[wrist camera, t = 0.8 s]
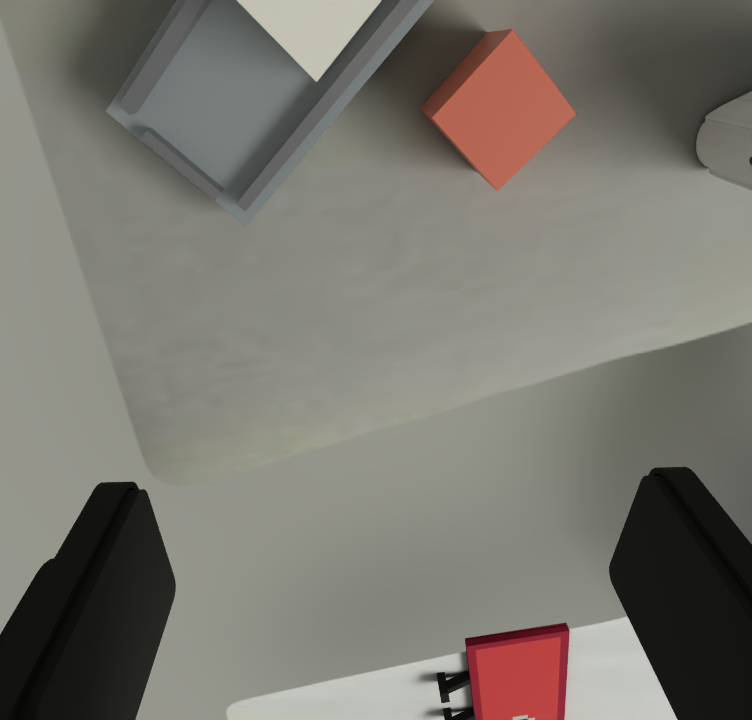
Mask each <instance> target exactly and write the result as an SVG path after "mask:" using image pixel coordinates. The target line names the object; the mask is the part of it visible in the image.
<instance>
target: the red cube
mask: <svg viewBox="0 0 752 720" xmlns="http://www.w3.org/2000/svg"><path fill="white" fill-rule="evenodd" d="M420 109H421V110H422V111H423V112H424V114H425V115H426V116H427V117H428V118H429V119H430V120H431V121H432V122H433V124H434V125H435V126H436V127H437V128H438V129H439V130H440V131H441V132H442V134H443V135H444V136H445V137H446V138H447V139H448V140H449V141H450V142H451V144H452V145H453V146H454V147H455V148H456V149H457V150H458V151H459V152H460V154H461V155H462V156H463V157H464V158H465V159H466V160H467V161H468V162H469V164H470V165H471V166H472V167H473V168H474V169H475V170H476V171H477V172H478V173H479V174H480V175H481V176H482V177H483V178H484V179H485V180H486V181H487V182H488V183H489V184H490V185H492V186H493V187H494V188H495V189H496V190H497V191H498V190H499V189H500V188H501V187H502V186H503V185H504V184H505V183H506V182H507V181H508V180H509V179H510V178H511V177H512V176H513V175H514V174H515V173H516V172H517V171H518V170H519V169H521V168H522V167H523V166H524V165H525V164H526V163H527V162H528V161H529V160H530V159H531V158H532V157H533V156H534V155H535V154H536V153H537V152H538V151H539V150H540V149H541V148H542V147H543V146H544V145H545V144H546V143H547V142H548V141H549V140H550V139H551V138H553V137H554V136H555V135H556V134H557V133H558V132H559V131H560V130H561V129H562V128H563V127H564V126H565V125H566V124H567V123H568V122H569V121H570V120H571V119H572V118H573V117H574V116H575V115H576V114H577V113H576V112H575V111H574V109H573V108H572V107H571V105H570V104H569V103H568V101H567V100H566V99H565V97H564V96H563V95H562V93H561V92H560V91H559V89H558V88H557V87H556V85H555V84H554V83H553V81H552V80H551V79H550V77H549V76H548V75H547V73H546V72H545V71H544V69H543V68H542V67H541V65H540V64H539V63H538V61H537V60H536V59H535V57H534V56H533V55H532V53H531V52H530V51H529V49H528V48H527V47H526V45H525V44H524V43H523V41H522V40H521V39H520V37H519V36H518V35H517V33H516V32H515V31H514V29H511V30H503V31H494V32H488V33H487V34H486V35H485V36H484V37H483V38H482V39H481V40H480V41H479V43H478V44H477V45H476V46H475V47H474V48H473V49H472V50H471V52H470V53H469V54H468V55H467V56H466V57H465V58H464V59H463V60H462V62H461V63H460V64H459V65H458V66H457V67H456V68H455V69H454V70H453V72H452V73H451V74H450V75H449V76H448V77H447V78H446V79H445V81H444V82H443V83H442V84H441V85H440V86H439V87H438V88H437V89H436V91H435V92H434V93H433V94H432V95H431V96H430V97H429V98H428V99H427V101H426V102H425V103H424V104H423V105H422V106H421V107H420Z"/></svg>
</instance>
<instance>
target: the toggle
mask: <svg viewBox="0 0 752 720" xmlns="http://www.w3.org/2000/svg"><path fill="white" fill-rule="evenodd" d="M237 1H238V2H239V3H240V4H241V5H242V6H243V7H244V8H245V9H246V10H247V11H248V12H249V14H250V15H251V16H252V17H253V18H254V19H255V20H256V21H257V22H258V23H259V24H260V25H261V26H262V27H263V28H264V29H265V30H266V31H267V32H268V33H269V34H270V35H271V36H272V37H273V38H274V39H275V40H276V41H277V42H278V43H279V44H280V45H281V46H282V47H283V48H284V49H285V50H286V51H287V52H288V53H289V54H290V55H291V56H292V58H293V59H294V60H295V61H296V62H297V63H298V64H299V65H300V66H301V67H302V68H303V69H304V70H305V71H306V72H307V73H308V74H309V75H310V76H311V77H312V78H313V79H314V80H315V81H316V82H317V81H318V80H319V79H320V78H321V76H322V75H323V74H324V73H325V71H326V70H327V69H328V68H329V66H330V65H331V64H332V63H333V61H334V60H335V59H336V58H337V56H338V55H339V54H340V52H341V51H342V50H343V49H344V47H345V46H346V45H347V44H348V42H349V41H350V40H351V39H352V37H353V36H354V35H355V34H356V32H357V31H358V30H359V29H360V27H361V26H362V25H363V24H364V22H365V21H366V20H367V18H368V17H369V16H370V15H371V13H372V12H373V11H374V10H375V8H376V7H377V6H378V5H379V3H380V2H381V1H382V0H237Z"/></svg>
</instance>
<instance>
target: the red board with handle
mask: <svg viewBox="0 0 752 720" xmlns="http://www.w3.org/2000/svg"><path fill="white" fill-rule="evenodd" d="M465 644H466V651H467V660H468V668H469V671H466V672H464V673H462V674H460V675H457V676H455V677H453V678H451V679H449V680H447V681H446V677H445V672H442V673H437V679H438V685H439V691H440V697H441V702H442V703H445V702H450V701H449V693H451V692H453V691H455V690H458V689H460V688H462V687H464V686H466V685H468V684H470V685H471V694H472V702H473V707H472V708H470V709H468V710H466V711H463V712H461V713H459V714H457V715H455V716H453V717H452V714H451V708H444V709H443V712H444V718H445V720H564V715H565V698H566V681H567V664H568V647H569V628H568V626H567V623H560V624H553V625H547V626H540V627H534V628H527V629H521V630H514V631H508V632H502V633H495V634H489V635H482V636H477V637H470V638H465Z"/></svg>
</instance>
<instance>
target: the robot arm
mask: <svg viewBox="0 0 752 720" xmlns="http://www.w3.org/2000/svg"><path fill="white" fill-rule="evenodd" d="M609 573H610V579H611V582H612V585H613V587H614V589H615V591H616V593H617V595H618V597H619V599H620V601H621V603H622V605H623V608H624V610H625V611H626V614H627V616H628V618H629V620H630V622H631V624H632V626H633V628H634V630H635V632H636V635H637V637H638V639H639V641H640V643H641V645H642V647H643V649H644V651H645V653H646V655H647V657H648V659H649V661H650V664H651V666H652V668H653V670H654V672H655V674H656V676H657V678H658V680H659V682H660V684H661V686H662V688H663V690H664V693H665V695H666V697H667V699H668V701H669V703H670V705H671V707H672V709H673V711H674V713H675V715H676V717H677V719H678V720H752V544H751V543H750V542H749V541H748V539H747V538H746V537H745V536H744V535H743V533H742V532H741V531H740V529H739V528H738V527H737V526H736V524H735V523H734V522H733V521H732V519H731V518H730V517H729V516H728V515H727V513H726V512H725V511H724V510H723V508H722V507H721V506H720V504H719V503H718V502H717V501H716V499H715V498H714V497H713V496H712V494H711V493H710V492H709V491H708V490H707V488H706V487H705V486H704V484H703V483H702V482H701V481H700V479H699V478H698V477H697V476H696V474H695V473H694V472H693V471H692V470H691V469H689V468H687V467H668V468H654V469H652V470H651V471H650V473H649V475H648V476H644V477H643V478H642V480H641V482H640V485H639V488H638V490H637V493H636V495H635V498H634V501H633V504H632V506H631V509H630V512H629V514H628V517H627V520H626V522H625V525H624V528H623V530H622V533H621V536H620V539H619V541H618V544H617V546H616V549H615V552H614V555H613V557H612V560H611V562H610V566H609ZM175 587H176V584H175V578H174V574H173V572H172V568H171V565H170V562H169V559H168V556H167V553H166V550H165V546H164V543H163V540H162V537H161V534H160V531H159V528H158V524H157V522H156V518H155V515H154V512H153V509H152V506H151V503H150V499H149V497H148V493H147V492H146V490H144V489H143V490H139V488H138V486H137V484H136V483H134V482H106V483H100V484H98V485H97V486H96V488H95V489H94V490H93V492H92V494H91V496H90V497H89V499H88V501H87V503H86V505H85V506H84V508H83V510H82V511H81V513H80V515H79V517H78V518H77V520H76V522H75V523H74V525H73V527H72V529H71V530H70V532H69V534H68V536H67V537H66V539H65V541H64V543H63V544H62V546H61V548H60V549H59V551H58V553H57V555H56V556H55V558H53V559H50V560H49V561H47V562H46V563H45V564H43V566H42V567H41V568H40V570H39V571H38V572H37V574H36V575H35V577H34V579H33V581H32V582H31V584H30V586H29V587H28V589H27V591H26V592H25V594H24V596H23V597H22V599H21V601H20V602H19V604H18V606H17V607H16V609H15V611H14V612H13V614H12V616H11V617H10V619H9V621H8V622H7V624H6V626H5V627H4V629H3V631H2V633H1V634H0V720H135V719H136V716H137V712H138V709H139V706H140V703H141V700H142V697H143V694H144V691H145V688H146V684H147V681H148V678H149V675H150V672H151V669H152V665H153V663H154V660H155V656H156V653H157V650H158V647H159V644H160V641H161V638H162V635H163V632H164V628H165V625H166V622H167V619H168V616H169V613H170V610H171V607H172V603H173V600H174V596H175Z"/></svg>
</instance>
